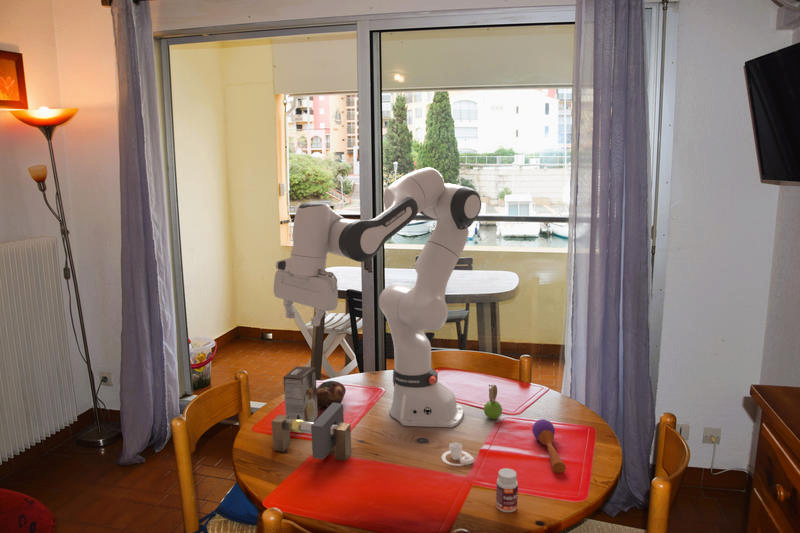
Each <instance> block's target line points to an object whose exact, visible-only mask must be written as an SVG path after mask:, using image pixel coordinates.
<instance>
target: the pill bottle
mask: <svg viewBox="0 0 800 533" xmlns="http://www.w3.org/2000/svg"><path fill="white" fill-rule="evenodd" d="M497 475H498V476H497V477H498V478H497V479H496V490H495V491H496V492H495V506H496V508H497V509H498V510H500V511H501V512H503V513H513V512H515V511H517V509H518V493H519V491H518V490H519V489H518V488H519V483H518V480H517V477H518V476H517V471H516V470H514V469H511V468H508V467H507V468H506V467H503V468H501V469H499V470H498V474H497Z"/></svg>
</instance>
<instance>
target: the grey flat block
mask: <svg viewBox="0 0 800 533" xmlns="http://www.w3.org/2000/svg"><path fill="white" fill-rule="evenodd" d="M344 421H345V419H344V403H342V402H341V403H332V404H331V405H330V406H329V407H328V406H327V408H326V409H325V410H324V411H323V412H322V413H321V414H320V415H319V416H318V417H317V418H316V419H315V420H314V423H313V424H312V425H311V432H312V434H311V449H312V451H311V452H312V453H311V454H312V459H318V460H325V458H326V457H327V456H328V455H329V454H330V452H331V451H332V450H333V449H334V448H335V441H334V437H333V436H331V426H332V425H338V424H339V423H340V422H341V423H345V422H344Z"/></svg>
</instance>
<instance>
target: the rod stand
mask: <svg viewBox="0 0 800 533" xmlns="http://www.w3.org/2000/svg"><path fill="white" fill-rule="evenodd" d="M314 422H315V421H314ZM314 422H309V421H304V420H298V419H289V416H286V414H278V415H276V417H274V418H273V420H271V428H272V430H271V431H272V447H273V448H272V449H273V451H276V452H285V451H286V449H288V448H289V447H290V445H291V434H290V433H291V432H293V433H301V434H302V433H305V434H311V435H312V432H311V425H312V424H313V423H314ZM331 436H333V437H334V441H335V446H334V460H336V461H337V460H338V461H343V462H345V461H347V460H348V459H349V457H350V456H351V455H352V430H351V423H347V422H344V423H341V422H340V423H339V424H338V425H332V426H331Z"/></svg>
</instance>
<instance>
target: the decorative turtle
mask: <svg viewBox="0 0 800 533" xmlns="http://www.w3.org/2000/svg"><path fill="white" fill-rule="evenodd" d="M316 390H317V408H318V409H321V408H323V406H326V407H327V408H328V407H329V406H330V405H331V404H332V403H342V402H343V400H344V397H345V394H346V390H347V389H346V387H345V386H344V384H343V383H341V382H339V381H335V380H328V381H325V382H322V383H320V384H319V385H318V386H316Z"/></svg>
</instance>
